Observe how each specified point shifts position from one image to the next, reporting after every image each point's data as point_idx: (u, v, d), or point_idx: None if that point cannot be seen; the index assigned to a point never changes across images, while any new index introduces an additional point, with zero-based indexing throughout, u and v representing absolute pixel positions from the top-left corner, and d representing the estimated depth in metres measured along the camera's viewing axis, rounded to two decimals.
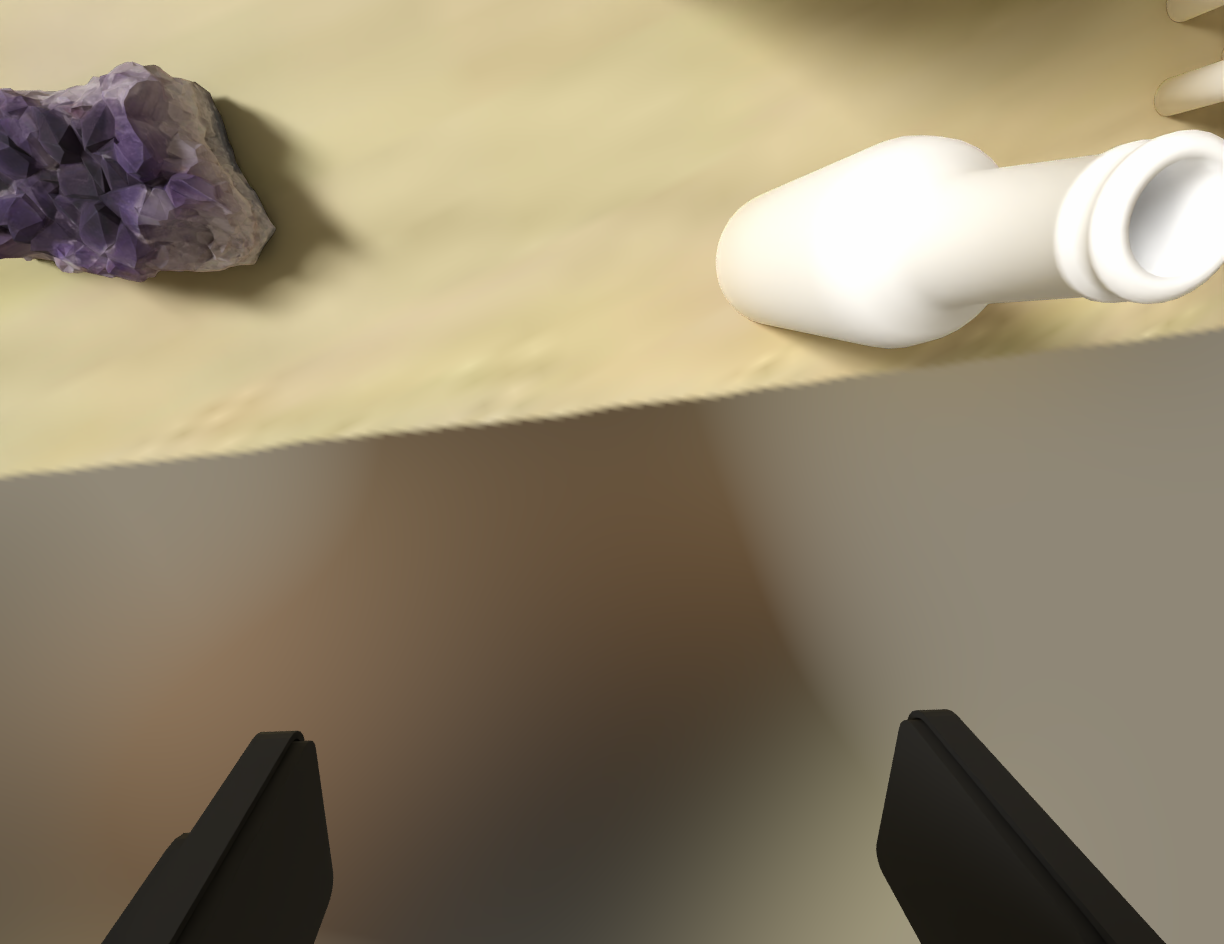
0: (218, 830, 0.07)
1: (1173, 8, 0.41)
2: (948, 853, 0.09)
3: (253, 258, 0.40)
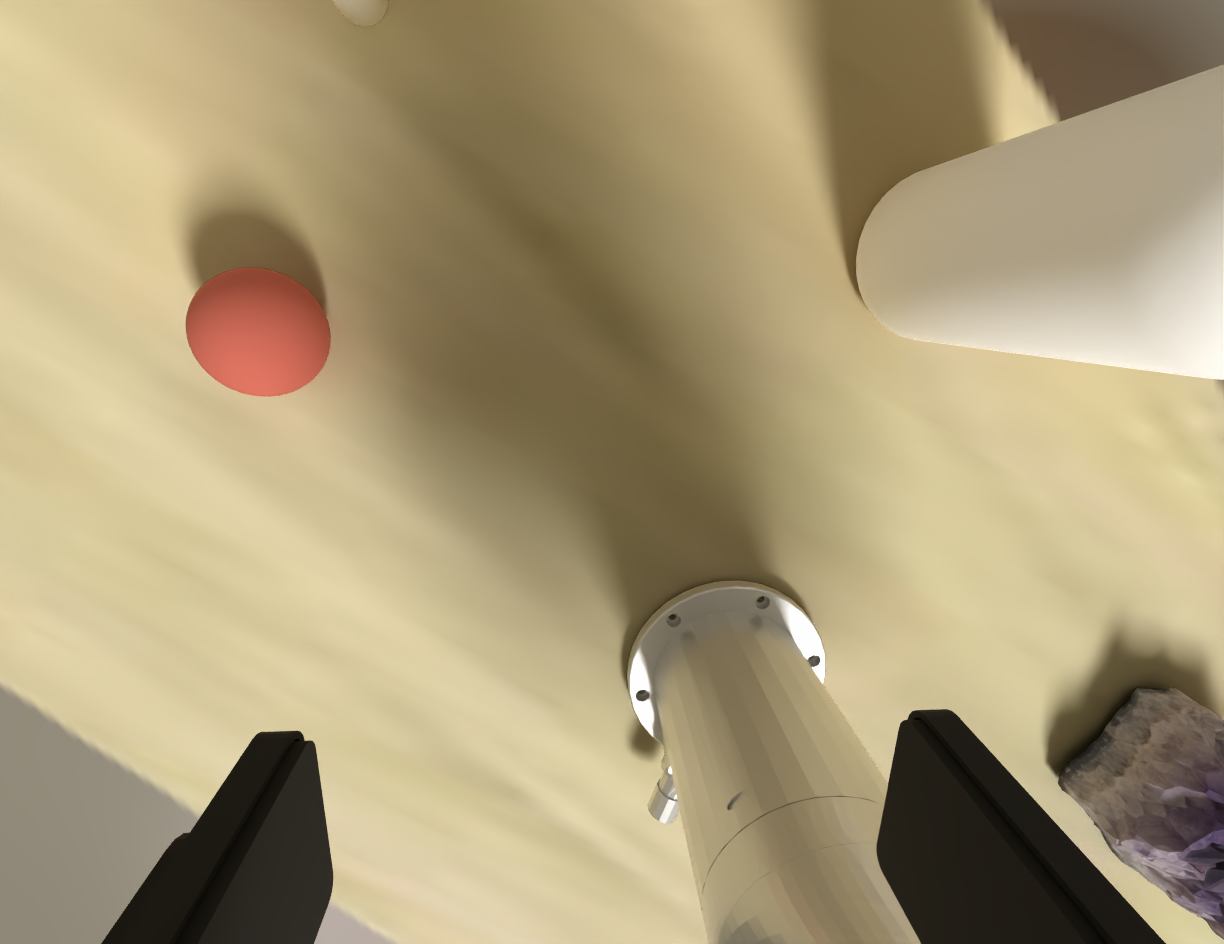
0: (218, 830, 0.07)
1: (384, 4, 0.28)
2: (948, 853, 0.09)
3: (1179, 694, 0.41)
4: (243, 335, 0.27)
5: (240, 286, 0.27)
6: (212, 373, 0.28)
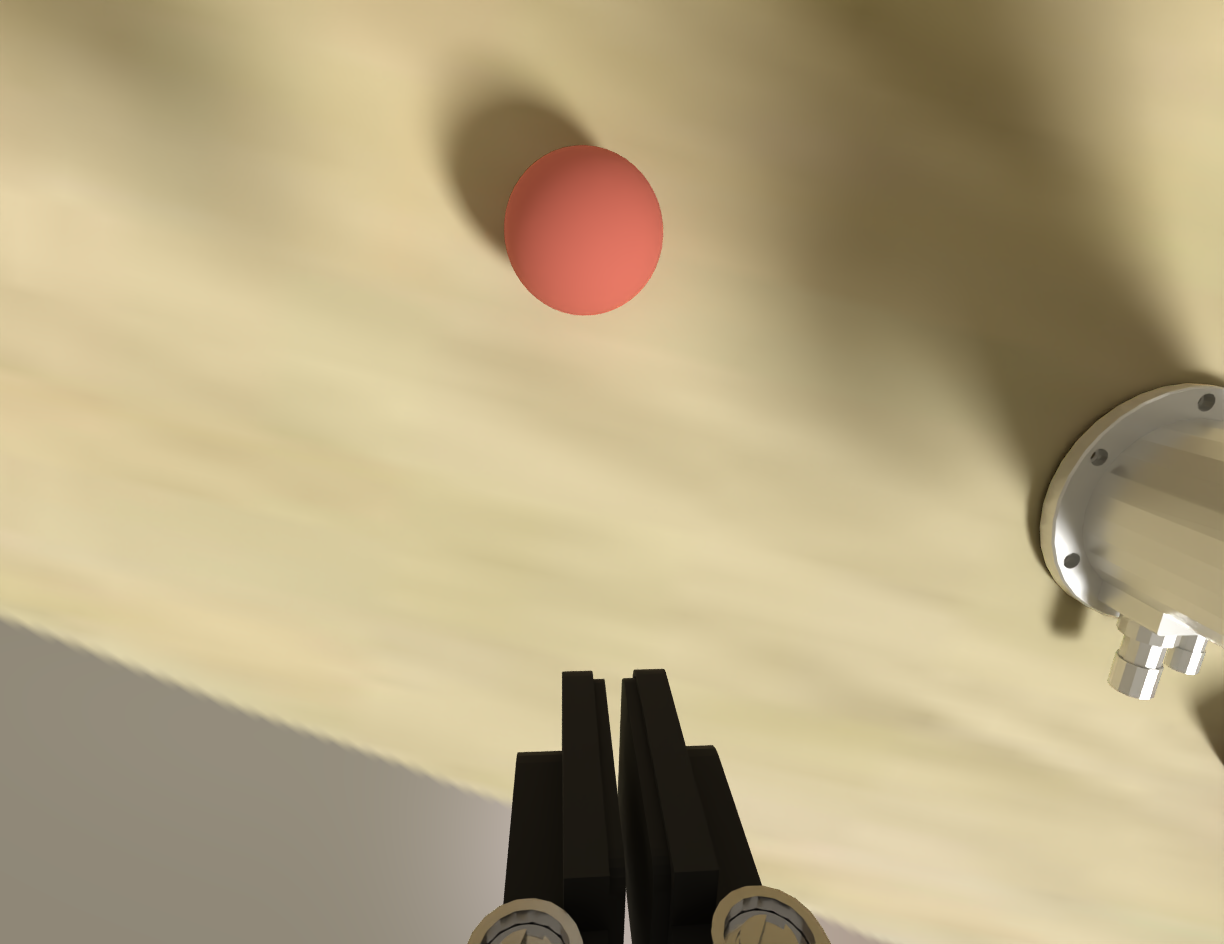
0: (583, 741, 0.09)
1: None
2: (629, 795, 0.09)
3: None
4: (603, 220, 0.21)
5: (576, 162, 0.21)
6: (561, 290, 0.22)
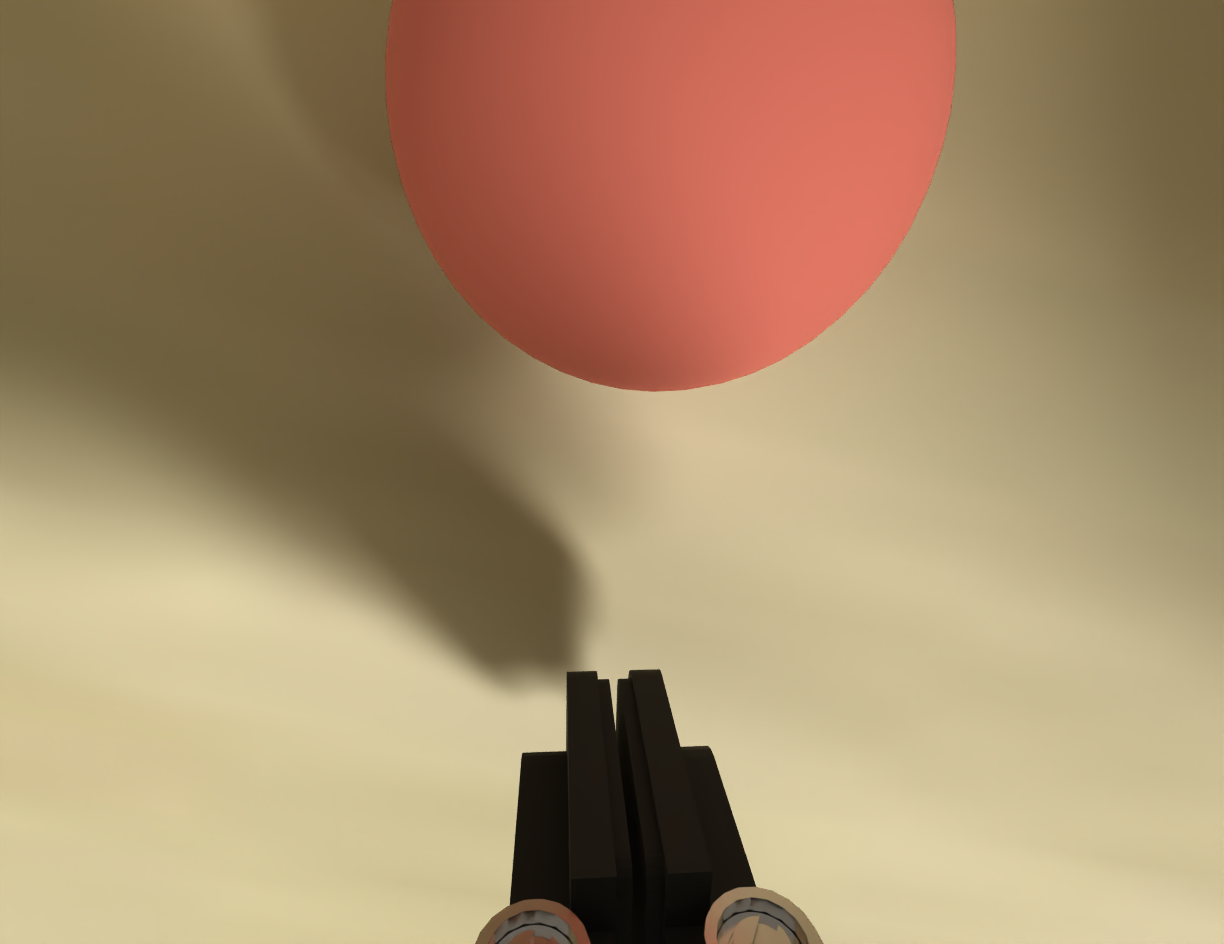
0: (588, 741, 0.09)
1: None
2: (624, 796, 0.09)
3: None
4: None
5: None
6: (590, 322, 0.06)
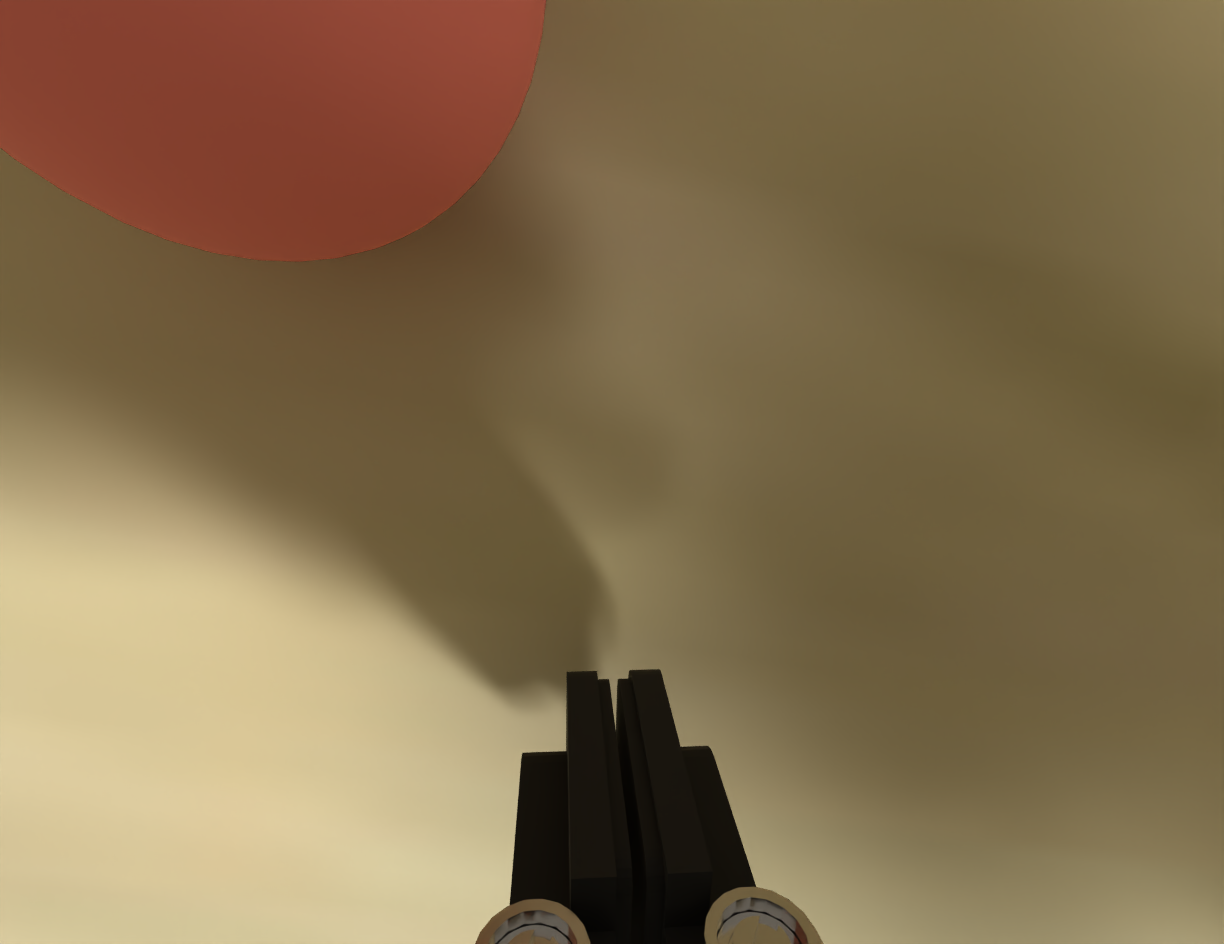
0: (588, 741, 0.09)
1: None
2: (624, 796, 0.09)
3: None
4: (401, 223, 0.07)
5: (148, 221, 0.06)
6: None
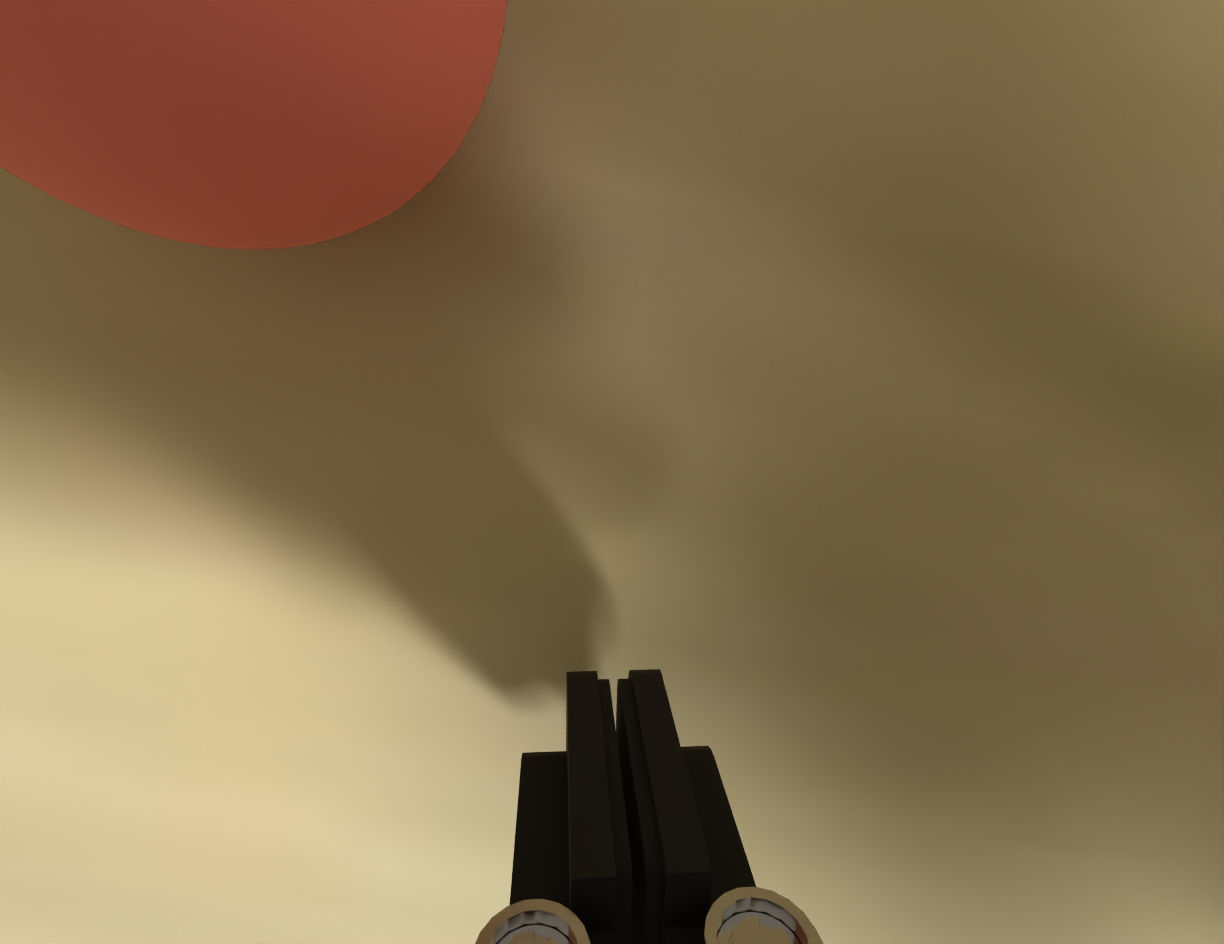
0: (588, 741, 0.09)
1: None
2: (624, 796, 0.09)
3: None
4: (346, 204, 0.06)
5: (80, 199, 0.06)
6: None
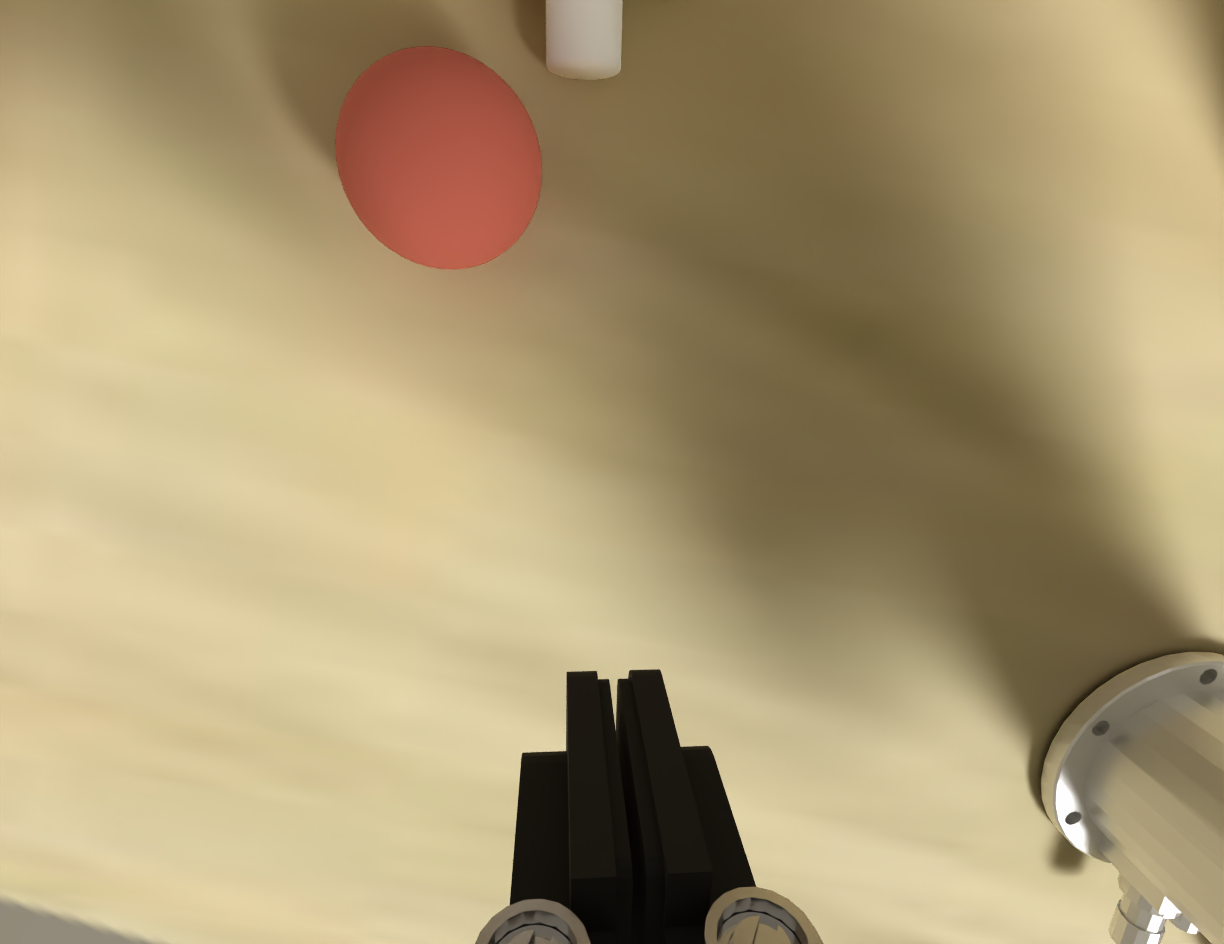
0: (588, 741, 0.09)
1: None
2: (624, 796, 0.09)
3: None
4: (489, 255, 0.19)
5: (413, 255, 0.18)
6: None
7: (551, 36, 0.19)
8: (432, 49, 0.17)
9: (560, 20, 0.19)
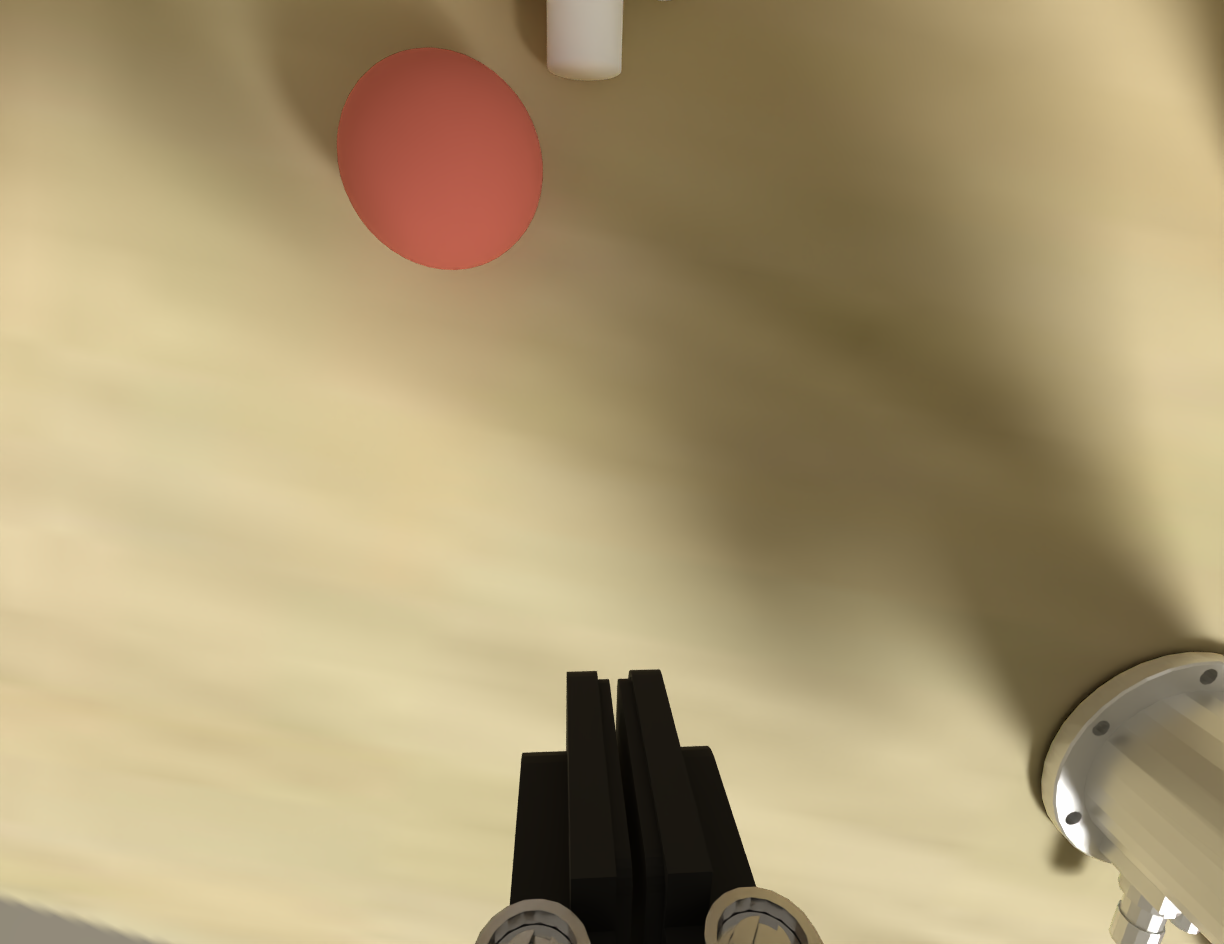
0: (588, 741, 0.09)
1: (621, 53, 0.20)
2: (624, 795, 0.09)
3: None
4: (490, 256, 0.19)
5: (414, 256, 0.19)
6: None
7: (552, 37, 0.19)
8: (433, 50, 0.17)
9: (561, 21, 0.19)
